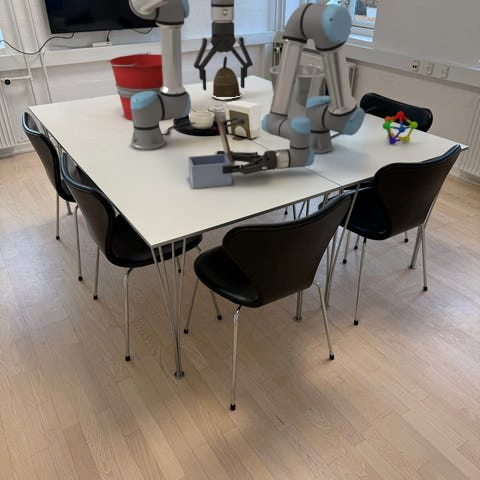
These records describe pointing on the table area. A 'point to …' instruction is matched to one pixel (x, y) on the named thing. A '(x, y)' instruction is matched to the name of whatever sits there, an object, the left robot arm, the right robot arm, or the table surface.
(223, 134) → the lid
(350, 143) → the table surface
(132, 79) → the bucket
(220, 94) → the bell
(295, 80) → the right robot arm
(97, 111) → the table surface
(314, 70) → the bucket
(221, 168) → the chest
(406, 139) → the educational toy
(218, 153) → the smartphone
